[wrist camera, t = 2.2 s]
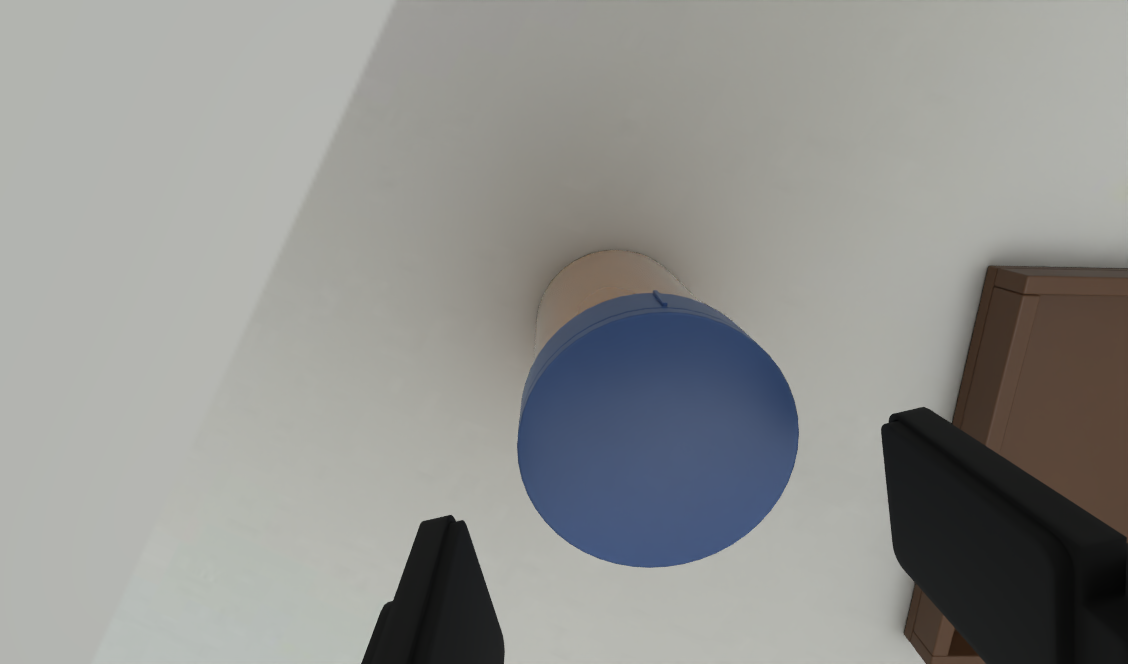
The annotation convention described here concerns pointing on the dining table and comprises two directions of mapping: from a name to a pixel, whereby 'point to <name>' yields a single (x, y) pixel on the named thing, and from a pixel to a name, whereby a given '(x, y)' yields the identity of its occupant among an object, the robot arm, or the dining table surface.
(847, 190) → the dining table surface
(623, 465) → the lid
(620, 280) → the jar
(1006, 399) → the tray
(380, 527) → the dining table surface
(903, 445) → the robot arm
